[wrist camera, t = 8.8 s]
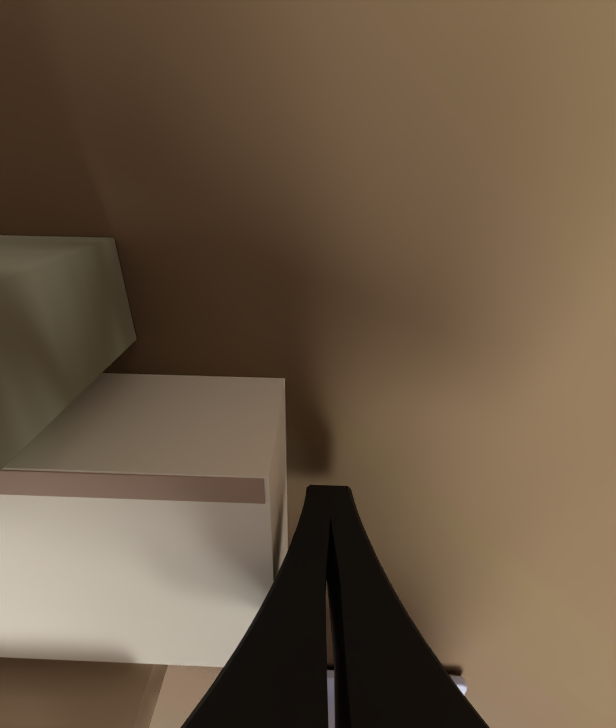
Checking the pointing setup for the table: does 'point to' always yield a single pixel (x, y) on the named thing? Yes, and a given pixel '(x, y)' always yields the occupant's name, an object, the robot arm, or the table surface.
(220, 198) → the table surface
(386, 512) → the table surface
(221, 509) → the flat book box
